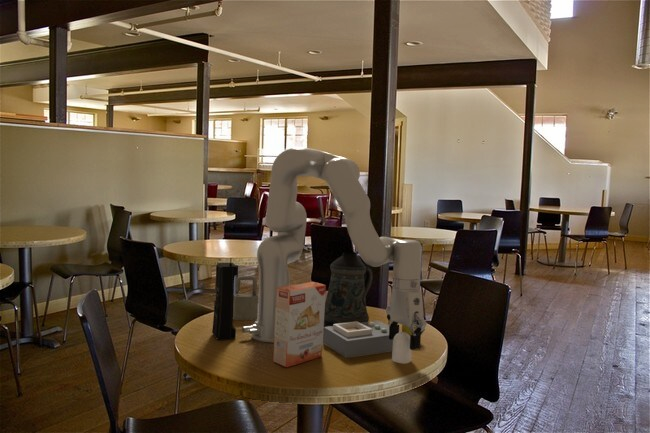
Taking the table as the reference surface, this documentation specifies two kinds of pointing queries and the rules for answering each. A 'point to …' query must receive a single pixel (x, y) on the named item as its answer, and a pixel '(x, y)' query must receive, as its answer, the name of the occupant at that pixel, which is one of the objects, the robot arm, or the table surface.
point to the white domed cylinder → (401, 348)
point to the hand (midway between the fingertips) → (404, 343)
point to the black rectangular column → (224, 301)
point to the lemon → (407, 329)
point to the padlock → (245, 301)
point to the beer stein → (348, 290)
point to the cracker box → (299, 323)
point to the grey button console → (358, 338)
